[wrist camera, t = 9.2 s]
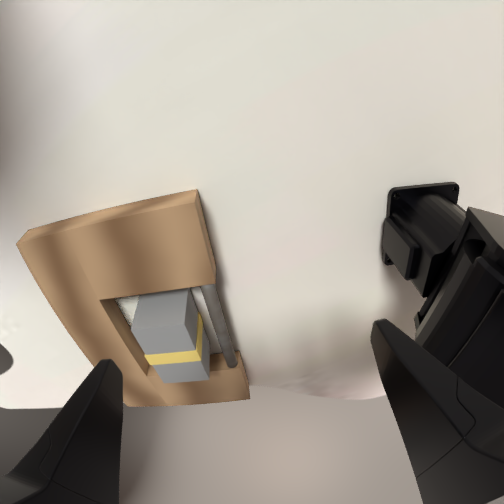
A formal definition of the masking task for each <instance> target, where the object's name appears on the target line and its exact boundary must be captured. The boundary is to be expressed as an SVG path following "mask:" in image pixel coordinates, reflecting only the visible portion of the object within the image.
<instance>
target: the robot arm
mask: <svg viewBox="0 0 504 504" xmlns="http://www.w3.org/2000/svg"><path fill="white" fill-rule="evenodd" d="M453 188H454V189H453ZM396 193H397V196H396V197H394V195H395V194H396ZM458 194H459V185H458V184H456V183H455V182H445V183H434V184H423V185H413V186H404V187H395V188H392V189H391V190H390V191H389V194H388V207H387V217H386V218H385V223H384V233H383V243H382V248H383V257H382V260H383V262H384V263H385V265H393V264H395V266H396V267H397V269H398V270H399V272H400V273H401V275H402V276H403V277H404V278H405V279H406V280H411V281H412V282H413V284H414V285H415V287H416V288H417V290H418V291H419V293H420V294H421V296H422V297H423V298H425V297H427V299H426V301H425V303H424V305H423V306H422V308H421V310H420V312H418V313H417V314H416V316H415V318H414V321H415V326H416V335H415V341H414V340H412V339H411V338H410V337H409V336H407V335H406V334H405V333H404V332H402V331H401V330H400V329H399V328H397V327H396V326H395V325H393V324H392V323H391V322H390V321H388V320H387V319H380V320H376V321H374V323H373V327H372V332H371V344H372V348H373V351H374V355H375V359H376V362H377V366H378V370H379V374H380V377H381V381H382V384H383V387H384V389H385V392H386V394H387V397H388V400H389V402H390V405H391V408H392V410H393V413H394V416H395V418H396V421H397V424H398V426H399V429H400V432H401V435H402V438H403V441H404V444H405V447H406V450H407V453H408V455H409V459H410V461H411V465H412V468H413V471H414V474H415V477H416V481H417V484H418V487H419V491H420V494H421V498H422V501H423V504H504V216H502V215H498V214H495V213H491V212H487V211H484V210H480V209H476V208H472V207H468V208H467V211H465V210H464V209H462V208H461V207H460V206H459V205H458V204H457V201H458ZM388 258H390V259H389V260H388ZM122 422H123V374H122V372H121V370H120V369H119V368H118V366H117V365H116V364H115V362H114V361H113V360H112V359H102V360H100V361H99V362H98V364H97V365H96V366H95V367H94V369H93V370H92V371H91V372H90V374H89V375H88V376H87V377H86V379H85V380H84V381H83V382H82V384H81V385H80V386H79V387H78V389H77V390H76V391H75V392H74V394H73V395H72V396H71V398H70V399H69V400H68V401H67V403H66V404H65V405H64V407H63V408H62V409H61V411H60V412H59V413H58V414H57V416H56V417H55V418H54V420H53V421H52V423H51V424H50V425H49V428H47V429H46V430H45V432H44V433H43V434H42V436H41V437H40V438H39V440H38V441H37V442H36V443H35V444H34V446H33V447H32V448H31V449H30V450H29V451H28V453H27V454H26V455H25V456H24V457H23V458H22V459H21V460H20V462H19V463H18V464H17V465H16V466H15V467H14V469H12V470H11V471H10V472H9V473H7V474H5V475H3V476H0V504H119V470H120V450H121V435H122Z"/></svg>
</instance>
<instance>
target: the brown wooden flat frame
mask: <svg viewBox="0 0 504 504" xmlns="http://www.w3.org/2000/svg"><path fill="white" fill-rule="evenodd" d="M16 245H17V247H18V249H19V251H20V253H21V255H22V257H23V259H24V261H25V262H26V264H27V266H28V268H29V270H30V272H31V273H32V275H33V277H34V279H35V281H36V282H37V284H38V286H39V287H40V289H41V291H42V292H43V294H44V296H45V297H46V299H47V301H48V302H49V304H50V305H51V307H52V309H53V310H54V312H55V313H56V315H57V316H58V318H59V319H60V321H61V322H62V324H63V325H64V327H65V328H66V330H67V331H68V333H69V334H70V335H71V337H72V338H73V340H74V341H75V342H76V344H77V345H78V347H79V348H80V349H81V351H82V352H83V353H84V355H85V356H86V357H87V358H88V360H89V361H90V362H91V364H92V365H93V366H94V367H95V366H96V365H97V364H98V362H99V361H100V360H102V359H112V360H113V361H114V362H115V364H116V365H117V366H118V368H119V369H120V370H121V372H122V374H123V402H124V403H125V404H126V405H127V406H176V405H193V404H207V403H219V402H229V401H237V400H246V399H250V393H249V383H248V380H247V376H246V373H245V369H244V366H243V363H242V359H241V356H240V352H239V351H235V352H234V349H233V346H232V342H231V339H230V336H229V332H228V329H227V325H226V322H225V319H224V315H223V312H222V308H221V305H220V301H219V298H218V294H217V291H216V287H215V284H216V264H215V260H214V256H213V252H212V248H211V244H210V240H209V236H208V232H207V228H206V224H205V220H204V216H203V211H202V207H201V203H200V199H199V195H198V190H197V189H196V190H190V191H185V192H180V193H175V194H170V195H165V196H161V197H156V198H151V199H147V200H142V201H138V202H133V203H129V204H125V205H120V206H116V207H112V208H108V209H104V210H100V211H96V212H92V213H88V214H84V215H80V216H76V217H73V218H69V219H65V220H62V221H58V222H54V223H51V224H47V225H44V226H40V227H37V228H34V229H30V230H28V231H27V232H26V233H25V234H24V235H23V237H22V238H21V239H20V240H19V241H18V242H17V243H16ZM196 286H200V287H201V290H202V293H203V296H204V299H205V302H206V305H207V308H208V311H209V315H210V318H211V321H212V324H213V326H214V329H215V332H216V335H217V338H218V341H219V344H220V347H221V350H222V353H219V354H211V355H210V364H209V380H202V381H191V382H178V383H163V381H162V379H161V378H160V376H159V375H158V373H157V372H156V370H155V369H154V367H153V366H152V365H150V364H149V363H148V361H147V359H146V358H145V353H144V351H143V350H142V348H141V346H140V345H139V343H138V341H137V340H136V338H135V336H134V335H133V333H132V331H131V329H130V327H129V325H128V323H127V322H126V320H125V318H124V316H123V314H122V313H121V311H120V309H119V307H118V305H117V303H116V301H115V299H114V298H117V297H125V296H132V295H139V294H147V293H154V292H161V291H168V290H175V289H182V288H189V287H196Z"/></svg>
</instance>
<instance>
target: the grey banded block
mask: <svg viewBox="0 0 504 504" xmlns="http://www.w3.org/2000/svg"><path fill="white" fill-rule="evenodd" d="M131 331H132V333H133V335H134V336H135V338H136V340H137V341H138V343H139V345H140V346H141V348H142V350H143V351H144V353H145V358H146V359H147V361H148V363H149V364H150V365H152V366H153V367H154V369H155V370H156V372H157V373H158V375H159V376H160V378H161V379H162V381H163V383H178V382H191V381H202V380H209V364H210V343H209V340H208V338H207V335H206V333H205V330H204V327H203V321H202V319H201V316H200V313H199V312H198V311H197V308H196V305H195V303H194V300H193V297H192V294H191V291H190V288H182V289H175V290H168V291H161V292H154V293H147V294H140V297H139V301H138V304H137V308H136V312H135V315H134V319H133V323H132V327H131Z"/></svg>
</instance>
